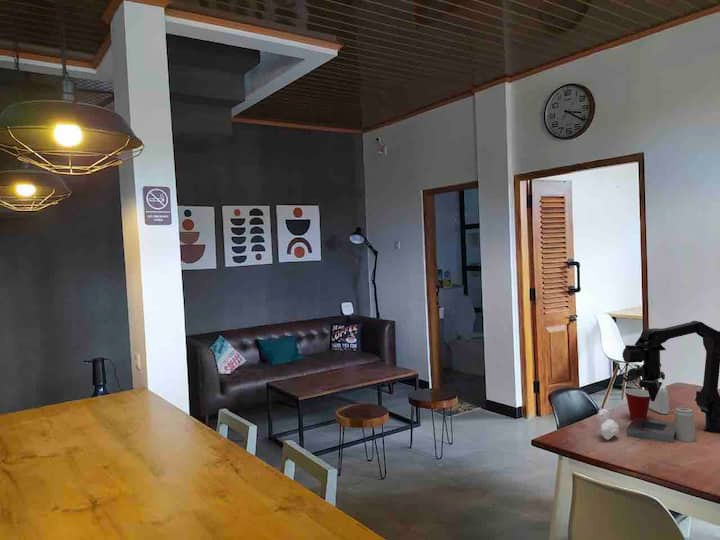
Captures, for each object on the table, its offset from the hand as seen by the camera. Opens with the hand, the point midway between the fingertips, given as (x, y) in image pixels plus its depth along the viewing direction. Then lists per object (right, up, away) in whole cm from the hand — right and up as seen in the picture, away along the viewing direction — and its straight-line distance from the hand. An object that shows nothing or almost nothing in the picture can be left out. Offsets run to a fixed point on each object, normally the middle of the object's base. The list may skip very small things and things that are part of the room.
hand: (652, 401), depth 214 cm
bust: (-19, -14, -2) cm, 23 cm away
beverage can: (+8, -14, -7) cm, 18 cm away
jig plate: (+1, -13, +1) cm, 13 cm away
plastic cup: (+4, -12, +18) cm, 22 cm away
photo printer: (+18, -11, +28) cm, 35 cm away
